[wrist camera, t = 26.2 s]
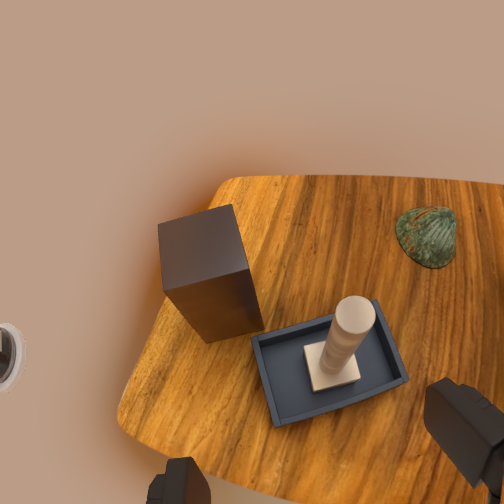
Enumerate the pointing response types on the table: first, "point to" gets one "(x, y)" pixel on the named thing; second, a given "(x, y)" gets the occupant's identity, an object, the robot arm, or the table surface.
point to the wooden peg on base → (339, 346)
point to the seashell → (428, 235)
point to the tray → (296, 377)
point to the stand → (209, 274)
